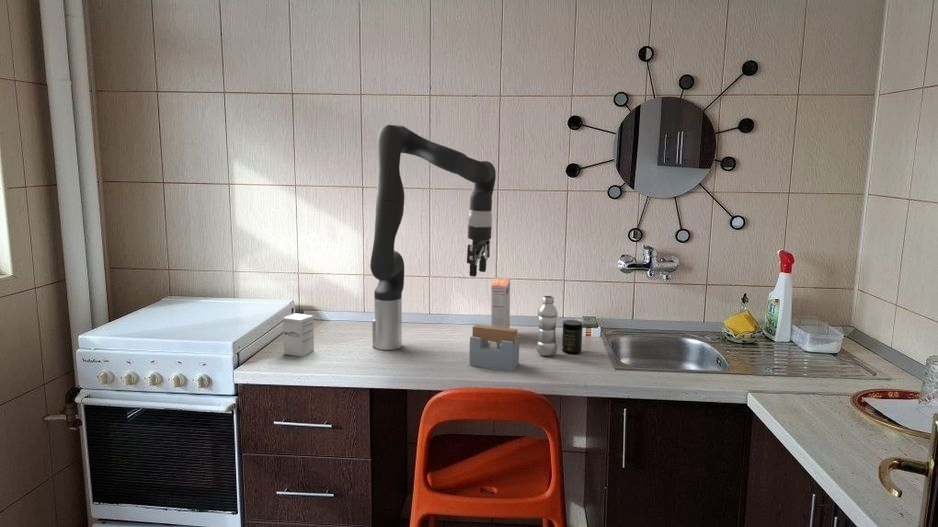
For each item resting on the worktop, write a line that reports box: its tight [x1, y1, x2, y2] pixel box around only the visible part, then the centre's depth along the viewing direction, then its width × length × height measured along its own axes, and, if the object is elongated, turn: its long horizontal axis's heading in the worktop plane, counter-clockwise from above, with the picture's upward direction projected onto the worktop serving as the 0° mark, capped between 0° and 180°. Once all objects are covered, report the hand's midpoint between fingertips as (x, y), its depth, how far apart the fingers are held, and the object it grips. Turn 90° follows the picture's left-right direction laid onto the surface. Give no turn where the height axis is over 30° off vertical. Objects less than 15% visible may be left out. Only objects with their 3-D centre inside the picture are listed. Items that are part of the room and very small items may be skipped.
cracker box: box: [490, 277, 511, 343], centre depth 248 cm, size 14×6×21 cm, turn 172°
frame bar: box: [471, 324, 518, 344], centre depth 218 cm, size 14×3×4 cm, turn 69°
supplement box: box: [282, 313, 315, 358], centre depth 228 cm, size 7×7×13 cm
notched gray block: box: [468, 335, 520, 372], centre depth 219 cm, size 14×8×9 cm, turn 69°
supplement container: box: [561, 319, 584, 356], centre depth 233 cm, size 7×7×10 cm
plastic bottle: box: [536, 295, 559, 357], centre depth 228 cm, size 6×7×20 cm
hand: (477, 273), depth 222 cm, fingers open, 8 cm apart
